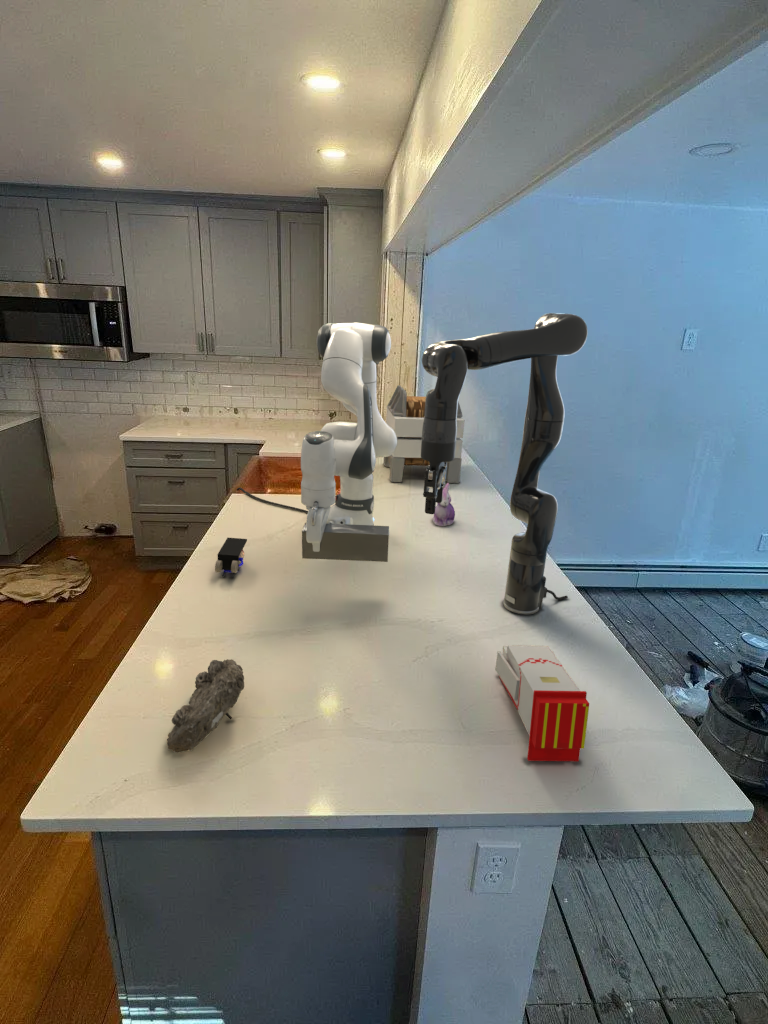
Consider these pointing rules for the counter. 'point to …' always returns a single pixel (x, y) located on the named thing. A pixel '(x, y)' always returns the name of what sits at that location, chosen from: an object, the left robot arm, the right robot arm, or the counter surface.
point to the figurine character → (230, 556)
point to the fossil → (206, 705)
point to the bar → (349, 543)
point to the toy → (545, 701)
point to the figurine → (444, 509)
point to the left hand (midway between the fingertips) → (318, 544)
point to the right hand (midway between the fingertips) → (433, 507)
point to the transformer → (415, 436)
